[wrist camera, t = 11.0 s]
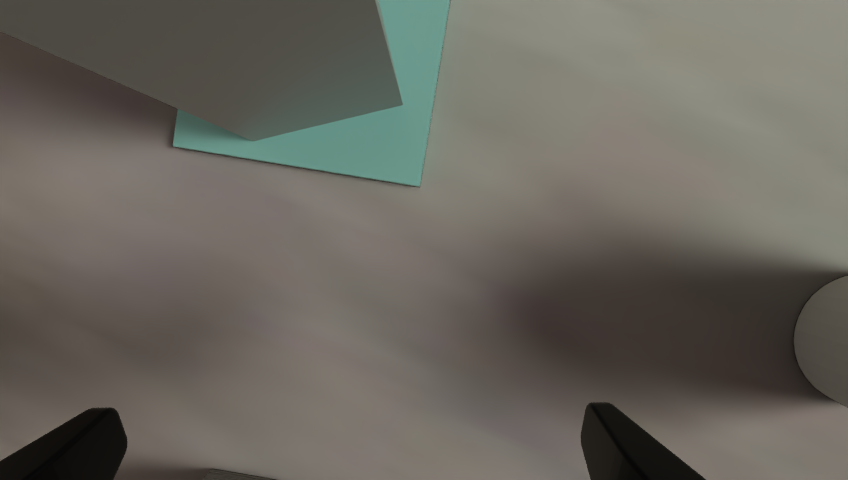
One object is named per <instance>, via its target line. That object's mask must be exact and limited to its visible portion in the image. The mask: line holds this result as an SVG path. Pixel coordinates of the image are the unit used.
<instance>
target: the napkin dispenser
mask: <svg viewBox="0 0 848 480" xmlns="http://www.w3.org/2000/svg"><path fill="white" fill-rule="evenodd" d="M202 480H274V479H268V478H262V477H256V476H251V475H245V474H239V473H233V472H228V471H222V470H216V469H211V470H210V471H209V473H208V474H207V475H206V476H205V477H204V478H203V479H202Z"/></svg>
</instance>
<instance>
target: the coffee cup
mask: <svg viewBox="0 0 848 480" xmlns="http://www.w3.org/2000/svg"><path fill="white" fill-rule="evenodd" d="M794 348H795V355H796V358H797V361H798V364H799V367H800V368H801V370H802V372H803V374H804V375H805V377H806V378H807V379H808V380H809V382H810V383H811V384H812V385H813V386H814V387H815V388H816V389H818V390H819V391H820V392H822V393H823V394H824V395H826V396H828V397H829V398H831V399H833V400H835V401H837V402H838V403H840V404H842V405H844V406H846V407H848V276H845V277H842V278H839V279H836V280H834V281H832V282H830V283H828V284H827V285H825V286H823V287H822V288H821V289H819V290H818V291H817V292H816V293H815V294H813V295H812V297H811V298H810V299H809V300H808V302H807V303H806V304H805V305H804V307H803V309H802V311H801V313H800V315H799V317H798V320H797V324H796V327H795V333H794Z"/></svg>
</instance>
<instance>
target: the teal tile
mask: <svg viewBox="0 0 848 480" xmlns="http://www.w3.org/2000/svg"><path fill="white" fill-rule="evenodd" d="M379 4H380V8H381V12H382V17H383V21H384V25H385V30H386V34H387V38H388V43H389V47H390V51H391V55H392V60H393V64H394V68H395V73H396V77H397V81H398V85H399V90H400V94H401V98H402V103H403V105H401V106H397V107H393V108H389V109H385V110H380V111H376V112H372V113H368V114H364V115H360V116H356V117H352V118H347V119H343V120H339V121H335V122H331V123H327V124H323V125H319V126H315V127H310V128H306V129H302V130H298V131H294V132H290V133H286V134H282V135H277V136H273V137H269V138H265V139H261V140H257V141H251V140H249V139H246V138H244V137H242V136H239V135H237V134H235V133H233V132H230V131H228V130H226V129H223V128H221V127H219V126H216V125H214V124H212V123H210V122H207V121H205V120H203V119H200V118H198V117H196V116H193V115H191V114H189V113H187V112H184V111H182V110H180V109H178V110H177V118H176V125H175V133H174V140H173V146H174V147H178V148H182V149H188V150H194V151H200V152H207V153H213V154H219V155H225V156H231V157H237V158H243V159H249V160H256V161H262V162H268V163H274V164H280V165H286V166H292V167H299V168H305V169H311V170H317V171H323V172H329V173H335V174H341V175H348V176H354V177H360V178H366V179H372V180H378V181H384V182H390V183H397V184H403V185H409V186H415V187H420V184H421V178H422V172H423V166H424V160H425V153H426V147H427V141H428V135H429V129H430V123H431V117H432V110H433V104H434V98H435V92H436V86H437V80H438V74H439V67H440V61H441V55H442V49H443V43H444V37H445V31H446V24H447V18H448V12H449V6H450V0H379Z"/></svg>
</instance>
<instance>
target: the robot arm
mask: <svg viewBox="0 0 848 480" xmlns="http://www.w3.org/2000/svg"><path fill="white" fill-rule="evenodd" d="M581 445H582V449H583V453H584V457H585V460H586V464H587V468H588V471H589V475H590V479H591V480H706V479H705V478H703V477H702V476H701V475H700V474H698V473H697V472H696V471H695V470H693V469H692V468H691V467H690V466H688V465H687V464H686V463H685V462H683V461H682V460H681V459H680V458H678V457H677V456H676V455H675V454H673V453H672V452H671V451H670V450H668V449H667V448H666V447H665V446H663V445H662V444H661V443H660V442H658V441H657V440H656V439H655V438H653V437H652V436H651V435H650V434H648V433H647V432H646V431H645V430H643V429H642V428H641V427H640V426H639V425H637V424H636V423H635V422H634V421H632V420H631V419H630V418H629V417H627V416H626V415H625V414H624V413H622V412H621V411H620V410H619V409H617V408H616V407H615V406H614V405H612V404H610V403H607V402H600V403H589V404H588V405H587V407H586V410H585V415H584V420H583V425H582V430H581ZM126 449H127V436H126V434H125V431H124V428H123V425H122V422H121V419H120V417H119V414H118V412H117V411H116V410H115V409H114V408H91V409H88V410H86V411H84V412H83V413H81V414H79V415H78V416H76V417H74V418H72V419H71V420H69V421H67V422H66V423H64V424H62V425H61V426H59V427H57V428H56V429H54V430H52V431H50V432H49V433H47V434H45V435H44V436H42V437H40V438H39V439H37V440H35V441H34V442H32V443H30V444H28V445H27V446H25V447H23V448H22V449H20V450H18V451H17V452H15V453H13V454H11V455H10V456H8V457H6V458H5V459H3V460H1V461H0V480H113V479H114V477H115V475H116V472H117V470H118V468H119V466H120V464H121V462H122V459H123V457H124V455H125V452H126Z"/></svg>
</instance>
